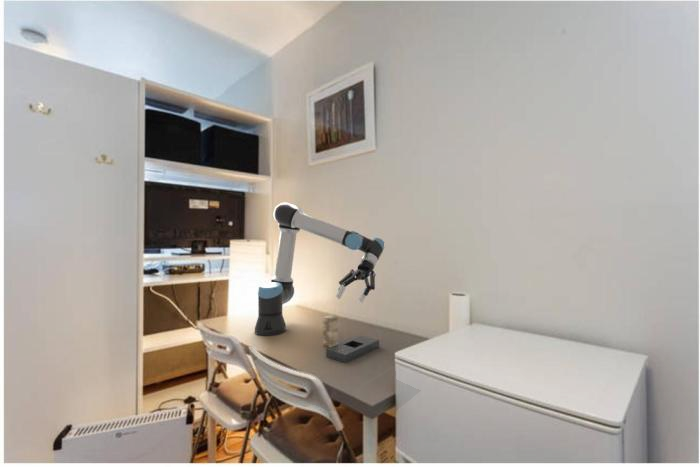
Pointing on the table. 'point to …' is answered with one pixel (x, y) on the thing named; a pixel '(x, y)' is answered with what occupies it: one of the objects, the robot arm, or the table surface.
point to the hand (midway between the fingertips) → (348, 299)
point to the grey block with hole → (352, 348)
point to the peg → (330, 331)
